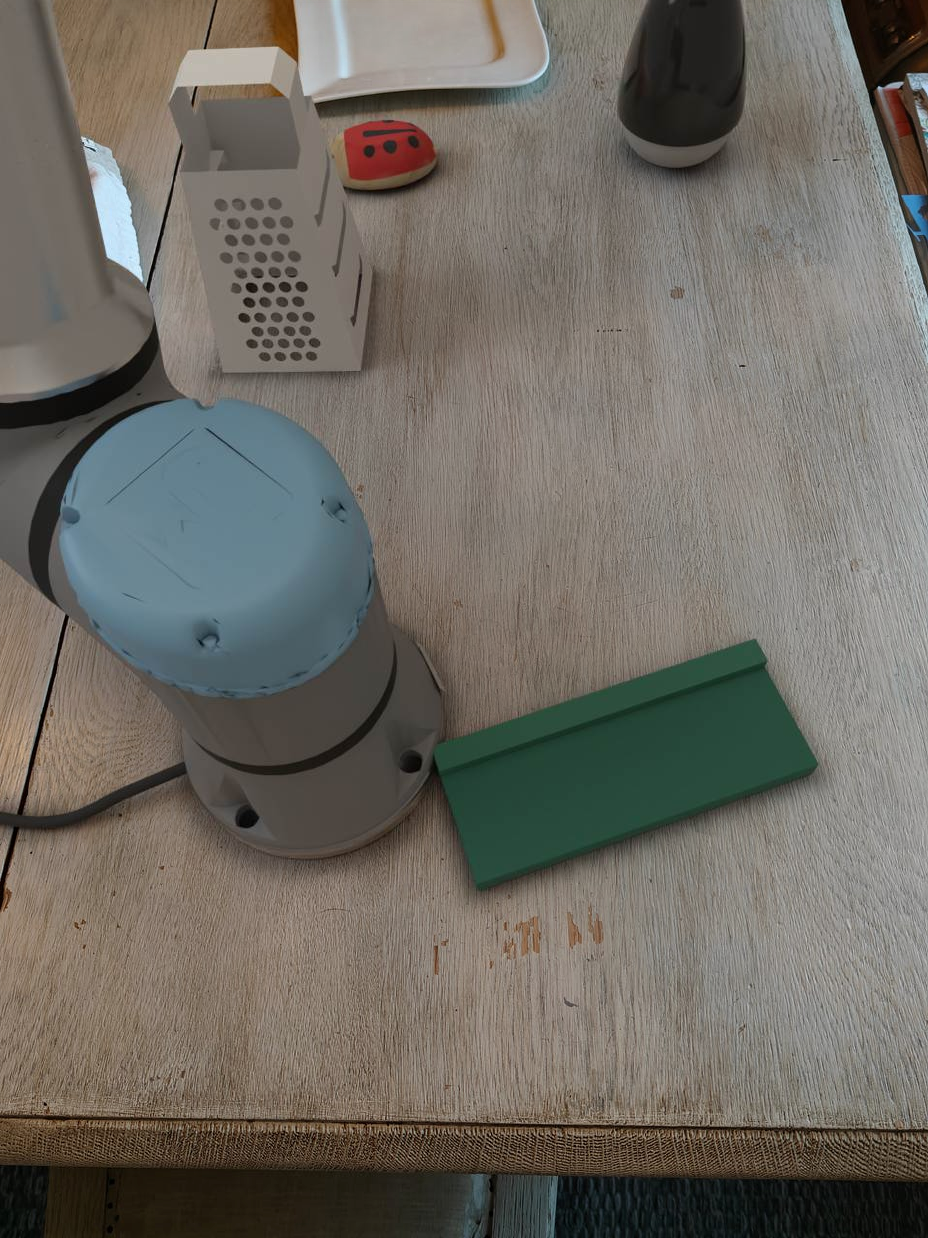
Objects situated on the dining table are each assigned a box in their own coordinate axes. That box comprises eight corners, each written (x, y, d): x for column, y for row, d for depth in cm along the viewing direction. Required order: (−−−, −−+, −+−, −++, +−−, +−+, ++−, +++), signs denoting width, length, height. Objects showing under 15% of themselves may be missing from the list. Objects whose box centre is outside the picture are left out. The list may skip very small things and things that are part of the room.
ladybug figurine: (325, 153, 84) (317, 115, 81) (436, 138, 84) (433, 99, 81) (329, 202, 81) (321, 165, 78) (444, 187, 81) (441, 149, 78)
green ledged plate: (478, 891, 52) (476, 881, 50) (434, 760, 56) (430, 746, 54) (812, 773, 54) (823, 759, 52) (747, 655, 58) (755, 637, 56)
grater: (360, 370, 71) (304, 117, 54) (222, 372, 72) (123, 124, 55) (372, 272, 76) (325, 12, 59) (244, 275, 77) (159, 19, 60)
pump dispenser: (716, 101, 84) (750, -95, 71) (749, 176, 79) (792, -20, 66) (602, 118, 84) (614, -75, 71) (627, 194, 79) (646, 1, 66)
